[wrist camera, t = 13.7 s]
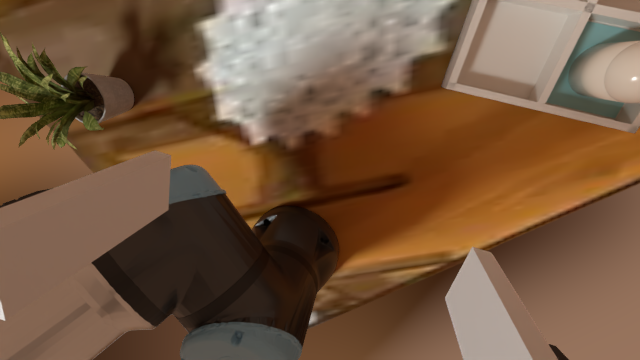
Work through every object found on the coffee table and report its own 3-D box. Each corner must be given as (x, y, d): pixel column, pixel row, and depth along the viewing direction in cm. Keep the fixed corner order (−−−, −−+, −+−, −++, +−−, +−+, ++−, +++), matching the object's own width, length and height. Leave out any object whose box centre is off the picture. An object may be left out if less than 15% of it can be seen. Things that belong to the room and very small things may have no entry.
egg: (608, 101, 34) (678, 114, 26) (558, 90, 34) (611, 98, 26) (639, 49, 31) (726, 45, 23) (585, 38, 32) (652, 30, 24)
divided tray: (612, 127, 35) (635, 133, 32) (440, 86, 37) (446, 88, 34) (745, -88, 27) (793, -108, 24) (517, -125, 29) (533, -148, 26)
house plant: (178, 75, 44) (71, 82, 29) (157, 154, 49) (59, 193, 34) (93, 28, 44) (-58, 10, 29) (82, 112, 49) (-49, 133, 34)
